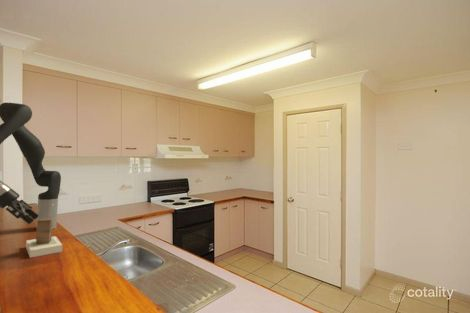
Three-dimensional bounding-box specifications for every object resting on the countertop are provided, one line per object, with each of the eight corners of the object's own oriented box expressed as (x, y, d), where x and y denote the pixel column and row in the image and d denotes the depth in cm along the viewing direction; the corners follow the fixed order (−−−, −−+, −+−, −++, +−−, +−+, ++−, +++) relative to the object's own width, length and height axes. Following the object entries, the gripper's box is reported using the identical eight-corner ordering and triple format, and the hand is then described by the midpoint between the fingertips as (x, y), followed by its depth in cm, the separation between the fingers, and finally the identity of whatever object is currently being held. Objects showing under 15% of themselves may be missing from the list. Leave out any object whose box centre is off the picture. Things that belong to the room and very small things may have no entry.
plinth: (25, 247, 113) (26, 240, 113) (55, 242, 121) (55, 235, 121) (30, 257, 102) (30, 249, 102) (62, 251, 109) (62, 244, 109)
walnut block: (38, 241, 112) (40, 219, 112) (51, 240, 114) (52, 218, 114) (36, 244, 108) (37, 221, 108) (48, 243, 110) (50, 220, 110)
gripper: (4, 190, 100) (38, 217, 105) (15, 186, 112) (45, 210, 117) (-15, 204, 97) (21, 230, 102) (-1, 198, 110) (30, 222, 115)
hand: (34, 219), depth 110 cm, fingers open, 8 cm apart
